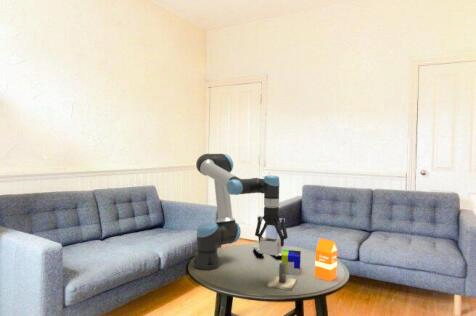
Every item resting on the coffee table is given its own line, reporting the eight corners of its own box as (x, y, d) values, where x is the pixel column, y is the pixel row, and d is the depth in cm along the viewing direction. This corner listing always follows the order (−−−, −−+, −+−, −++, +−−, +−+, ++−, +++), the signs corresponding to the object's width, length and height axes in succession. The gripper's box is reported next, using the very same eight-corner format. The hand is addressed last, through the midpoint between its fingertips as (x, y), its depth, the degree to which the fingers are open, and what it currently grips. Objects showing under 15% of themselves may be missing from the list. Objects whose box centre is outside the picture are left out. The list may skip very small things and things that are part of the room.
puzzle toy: (299, 275, 181) (300, 256, 180) (281, 273, 183) (281, 255, 182) (300, 268, 191) (300, 251, 190) (282, 266, 193) (283, 249, 192)
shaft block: (267, 286, 165) (267, 265, 164) (273, 277, 176) (274, 258, 176) (291, 290, 160) (292, 269, 160) (296, 281, 172) (297, 261, 171)
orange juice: (330, 281, 173) (331, 243, 172) (314, 276, 179) (315, 239, 178) (336, 277, 179) (337, 240, 178) (321, 272, 185) (322, 236, 184)
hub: (259, 253, 165) (259, 241, 165) (265, 248, 173) (265, 237, 173) (276, 255, 161) (277, 243, 161) (282, 250, 170) (282, 238, 170)
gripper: (248, 206, 168) (248, 250, 168) (290, 209, 159) (290, 256, 160) (253, 204, 175) (253, 246, 175) (294, 207, 166) (294, 252, 167)
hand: (270, 251), depth 167 cm, fingers closed on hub, 9 cm apart
